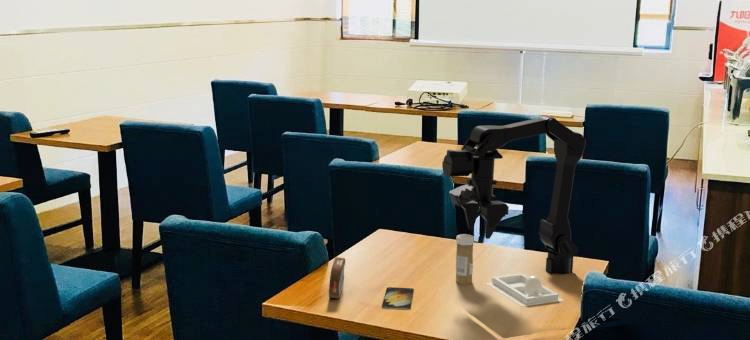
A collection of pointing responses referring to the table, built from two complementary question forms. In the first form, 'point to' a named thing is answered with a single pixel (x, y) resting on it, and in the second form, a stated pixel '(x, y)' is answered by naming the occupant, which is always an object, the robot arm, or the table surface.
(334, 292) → the tin
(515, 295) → the tray
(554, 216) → the robot arm
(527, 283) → the egg
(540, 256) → the table surface
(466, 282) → the sprinkles bottle
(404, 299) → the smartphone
